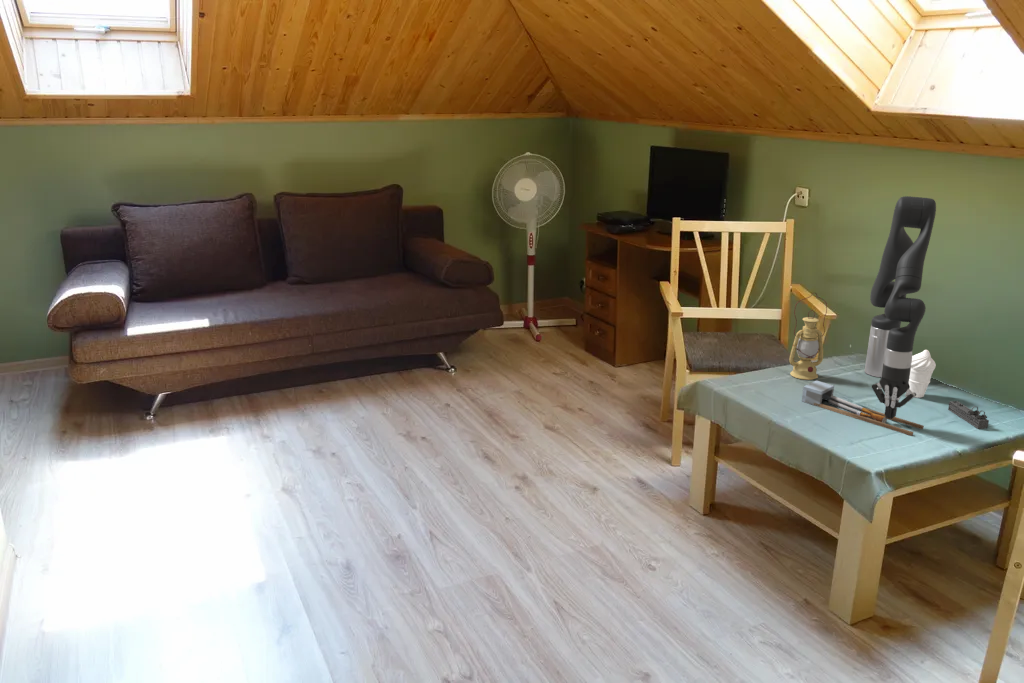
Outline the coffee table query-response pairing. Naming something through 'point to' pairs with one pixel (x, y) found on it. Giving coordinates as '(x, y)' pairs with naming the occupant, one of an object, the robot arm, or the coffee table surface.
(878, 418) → the chisel
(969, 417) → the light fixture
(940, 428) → the coffee table surface
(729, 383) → the coffee table surface
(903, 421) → the holder
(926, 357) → the soft serve ice cream cone
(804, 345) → the lantern
